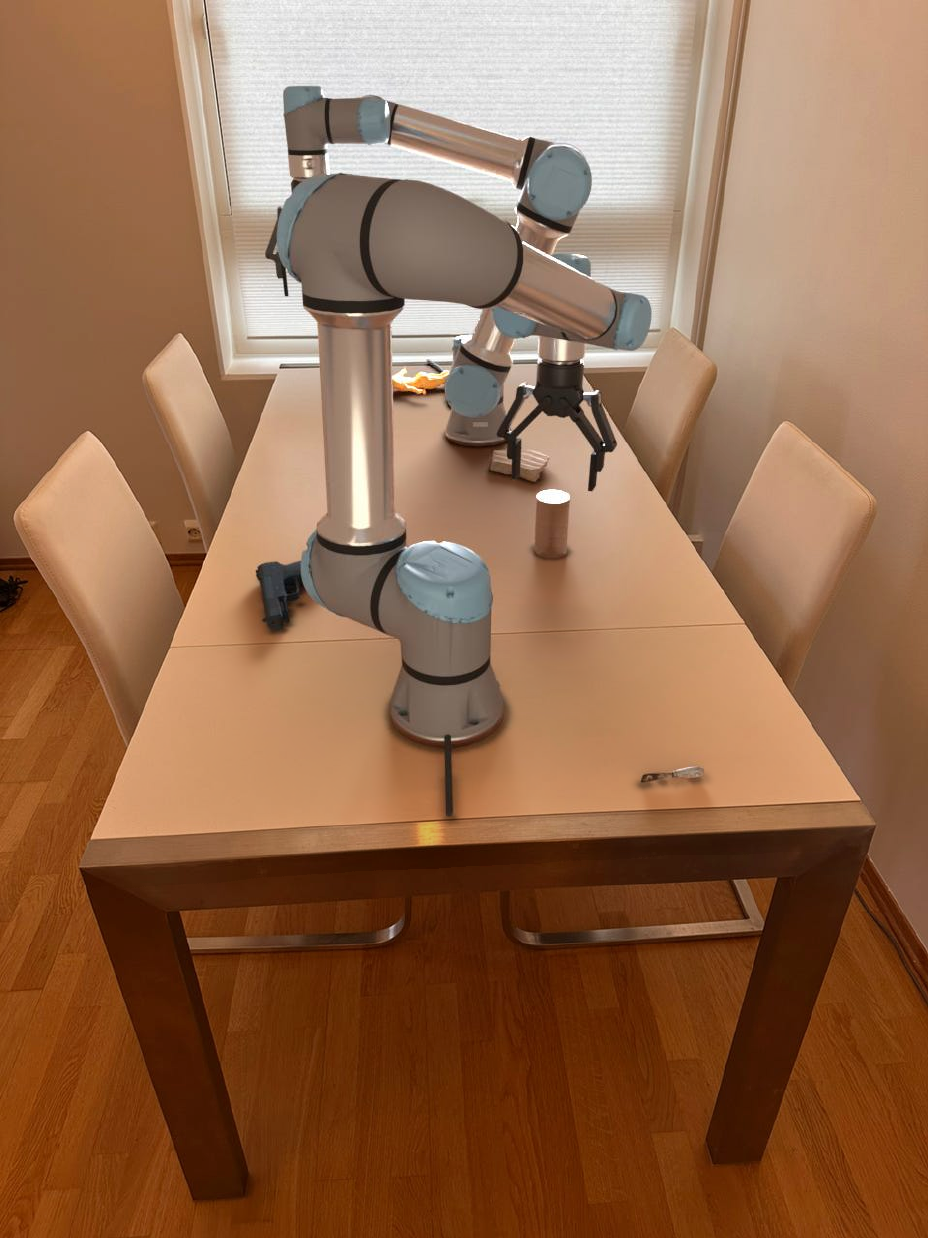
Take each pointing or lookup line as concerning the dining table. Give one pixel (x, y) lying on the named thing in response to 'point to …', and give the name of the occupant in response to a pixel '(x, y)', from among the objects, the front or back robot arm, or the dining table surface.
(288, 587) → the handgun
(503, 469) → the beige ridged slab
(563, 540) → the canister
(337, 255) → the front robot arm
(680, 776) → the putty knife
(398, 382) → the orange white flat wedge
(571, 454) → the dining table surface
